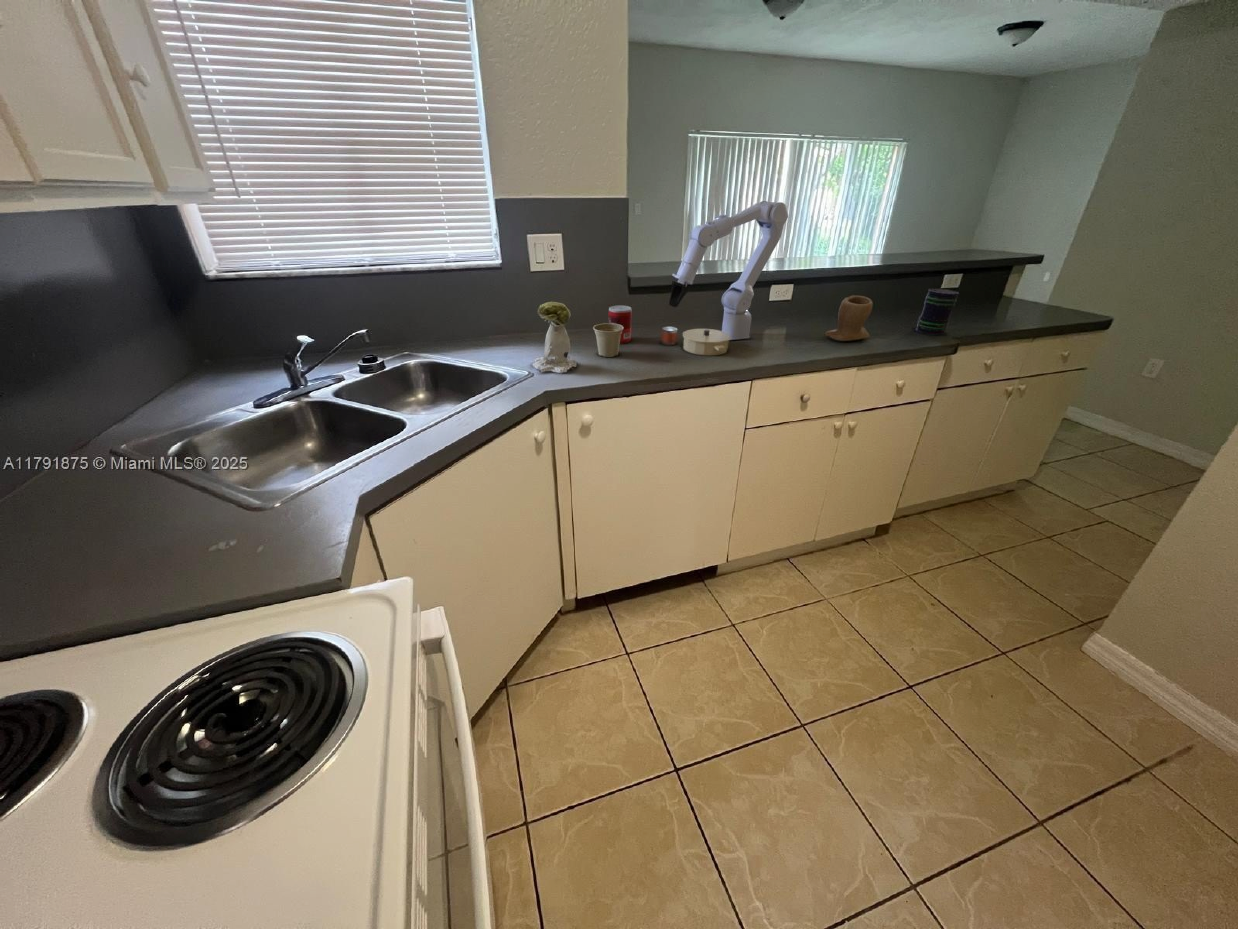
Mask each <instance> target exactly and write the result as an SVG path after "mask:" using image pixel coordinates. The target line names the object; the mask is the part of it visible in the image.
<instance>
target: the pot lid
mask: <svg viewBox="0 0 1238 929" xmlns="http://www.w3.org/2000/svg"><path fill="white" fill-rule="evenodd" d="M683 337H684V338H685V339H687V340H690V341H693V342H699V343H709V344H714V343H723V342H727V341H729V342H730V341H731V340H730V335H729V334H727V333H725V332H722V330H719V329H714V328H713V329H711V328H692V329H688V330H684V331H683V332H682V338H683Z"/></svg>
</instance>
